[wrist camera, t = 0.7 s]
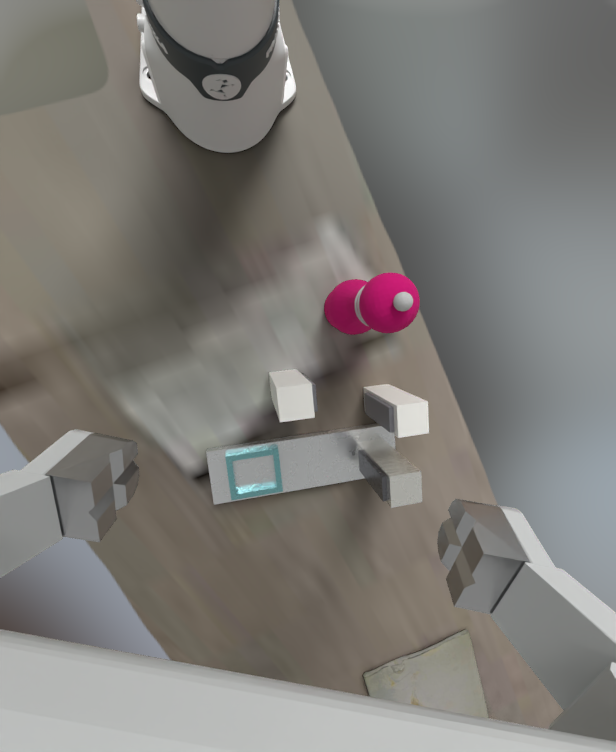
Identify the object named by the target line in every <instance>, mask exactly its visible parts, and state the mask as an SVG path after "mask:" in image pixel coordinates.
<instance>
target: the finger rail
mask: <svg viewBox="0 0 616 752" xmlns="http://www.w3.org/2000/svg"><path fill="white" fill-rule="evenodd" d="M206 455H207V462H208V468H209V475H210V482H211V488H212V495H213V502H214V505H215V504H221V503H227V502H232V501H238V500H244V499H250V498H255V497H261V496H267V495H273V494H278V493H284V492H290V491H295V490H301V489H307V488H313V487H318V486H324V485H330V484H336V483H341V482H347V481H353V480H358V479H364V478H365V479H366V480H367V481H368V483H369V484H370V485H371V486H372V488H373V489H374V490H375V492H376V493H377V494H378V495H379V497H380V498H381V499H382V501H386V502H387V503H388V504H389V506H390V507H391V508H393V507H398V506H404V505H409V504H414V503H419V502H422V483H421V471H420V470H419V469H418V468H417V467H415V466H414V465H413V464H412V463H411V462H410V461H408V460H407V459H406V458H405V457H404V456H403V455H401V454H400V453H399V452H398V451H397V450H395V435H394V434H393V433H390V432H388V431H387V430H386V429H385V428H383V427H382V426H381V425H379V424H378V423H375V424H369V425H362V426H355V427H348V428H342V429H335V430H328V431H322V432H315V433H308V434H301V435H295V436H288V437H281V438H274V439H268V440H261V441H254V442H248V443H241V444H234V445H227V446H221V447H214V448H207V451H206Z"/></svg>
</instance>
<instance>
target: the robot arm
mask: <svg viewBox="0 0 616 752" xmlns="http://www.w3.org/2000/svg"><path fill="white" fill-rule="evenodd" d="M136 2H137V4H139V5H141V6H142V14H137V25H138V29H139V31H140V32H141V48H140V80H139V83H140V88H141V92H142V94H143V96H144V97H145V98H146V99H147V100H148V101H149V102H151V103H152V104H153V105H155V106H157V107H158V108H160V109H161V110H163V111H164V112H165V113H166V114H167V115H168V116H169V117H170V118H171V120H172V121H173V122H174V124H175V125H176V126H177V127H178V129H179V130H180V131H181V132H182V133H183V134H184V135H185V136H186V137H188V138H189V139H190V140H191V141H193V142H194V143H196V144H198V145H200V146H202V147H204V148H206V149H209V150H212V151H216V152H223V153H232V152H239V151H243V150H246V149H248V148H250V147H252V146H254V145H255V144H257V143H258V142H259V141H261V140H262V139H263V138H264V137H265V135H266V134H267V133H268V132H269V130H270V129H271V127H272V125H273V123H274V121H275V119H276V117H277V115H278V114H279V112H280V111H281V110H283V109H284V108H285V107H286V106H288V105H289V104H290V103H291V102H292V101H293V100H294V98H295V96H296V84H295V80H294V76H293V73H292V69H291V65H290V61H289V57H288V47H287V46H286V45H285V42H284V38H283V34H282V30H281V26H280V22H279V17H280V13H279V12H280V7H279V0H136ZM149 76H150V77H151V79H149V78H148V77H149ZM285 80H287V81H286V82H285ZM137 455H138V449H137V443H136V442H134V441H133V440H128V439H123V438H118V437H113V436H109V435H104V434H99V433H92V432H87V431H82V430H77V429H75V430H71V431H69V432H67V433H66V434H65V435H64V436H62V437H61V438H60V439H59V440H57V441H56V442H55V443H54V444H52V445H51V446H50V447H49V448H47V449H46V450H45V451H44V452H43V453H41V454H40V455H39V456H38V457H36V458H35V459H34V460H33V461H31V462H30V463H29V464H28V465H26V466H25V467H24V468H23V469H21V470H20V471H17V470H11V471H8V472H5V473H2V474H0V578H1V577H3V576H4V575H6V574H7V573H9V572H11V571H12V570H14V569H15V568H17V567H19V566H20V565H22V564H23V563H25V562H27V561H28V560H30V559H31V558H33V557H34V556H36V555H37V554H39V553H41V552H42V551H44V550H46V549H47V548H49V547H50V546H52V545H54V544H55V543H57V542H58V541H60V540H62V539H63V537H69V538H75V539H82V540H89V541H95V542H100V541H101V540H102V538H103V537H104V536H105V534H106V533H107V532H108V530H109V529H110V528H111V526H112V525H113V523H114V522H115V521H116V519H117V518H116V510H118V509H120V508H122V507H124V506H126V505H127V504H128V503H129V501H130V500H131V498H132V497H133V495H134V493H135V490H136V488H137V485H138V480H139V467H138V466H137V465H136V463H135V462H134V461H133V459H134V458H135V457H136V456H137ZM448 511H449V513H450V516H451V518H449V519H448V520H446V521H444V522H443V523H442V525H441V527H440V530H439V533H438V543H437V544H438V553H439V556H440V560H441V562H442V563H443V564H444V566H445V567H446V568H447V569H448V570H449V571H450V572H449V574H448V576H447V578H446V581H447V584H448V587H449V591H450V594H451V597H452V601H453V604H454V607H459V608H463V609H468V610H473V611H477V612H482V613H487V614H491V618H492V619H493V620H494V621H495V623H496V624H497V625H498V627H499V628H500V629H501V630H502V632H503V633H504V634H505V636H506V637H507V638H508V639H509V641H510V642H511V643H512V645H513V646H514V647H515V648H516V650H517V651H518V652H519V654H520V655H521V656H522V657H523V659H524V660H525V661H526V663H527V664H528V665H529V666H530V668H531V669H532V670H533V672H534V673H535V674H536V675H537V677H538V678H539V679H540V681H541V682H542V683H543V685H544V686H545V687H546V688H547V690H548V691H549V692H550V694H551V695H552V696H553V697H554V699H555V700H556V701H557V703H558V704H559V705H560V706H561V708H562V709H563V710H564V711H563V712H562V713H561V714H560V715H559V716H558V717H557V718H556V719H555V720H554V721H553V722H552V723H551V724H550V726H549V728H548V729H544V728H538V727H533V726H527V725H522V724H516V723H511V722H505V721H500V720H495V719H489V718H484V717H478V716H473V715H467V714H462V713H456V712H451V711H445V710H440V709H434V708H429V707H424V706H418V705H413V704H407V703H402V702H396V701H391V700H385V699H380V698H374V697H369V696H364V695H358V694H353V693H347V692H342V691H336V690H331V689H325V688H320V687H315V686H309V685H304V684H298V683H293V682H287V681H282V680H276V679H271V678H265V677H260V676H254V675H249V674H243V673H238V672H232V671H227V670H221V669H216V668H210V667H205V666H199V665H194V664H188V663H183V662H177V661H172V660H166V659H161V658H155V657H150V656H144V655H139V654H133V653H127V652H122V651H117V650H111V649H106V648H100V647H95V646H90V645H84V644H78V643H73V642H68V641H62V640H57V639H51V638H46V637H40V636H35V635H29V634H23V633H18V632H13V631H7V630H2V629H0V752H616V613H615V612H614V611H613V610H612V609H611V608H609V607H608V606H607V605H606V604H604V603H603V602H602V601H601V600H600V599H598V598H597V597H596V596H594V595H593V594H592V593H591V592H590V591H589V590H587V589H586V588H585V587H584V586H582V585H581V584H580V583H579V582H577V581H576V580H575V579H574V578H573V577H571V576H570V575H569V574H568V573H566V572H565V571H564V570H563V569H558V568H555V566H554V564H553V563H552V561H551V560H550V558H549V556H548V555H547V553H546V551H545V550H544V548H543V547H542V545H541V543H540V542H539V540H538V538H537V537H536V535H535V534H534V532H533V530H532V529H531V527H530V525H529V524H528V522H527V520H526V519H525V517H524V515H523V514H522V513H521V512H520V511H519V510H518V509H516V508H509V507H504V506H497V505H496V506H494V505H489V504H483V503H478V502H472V501H466V500H460V499H455V500H454V501H453V502H452V503H451V505H450V507H449V509H448Z"/></svg>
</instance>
